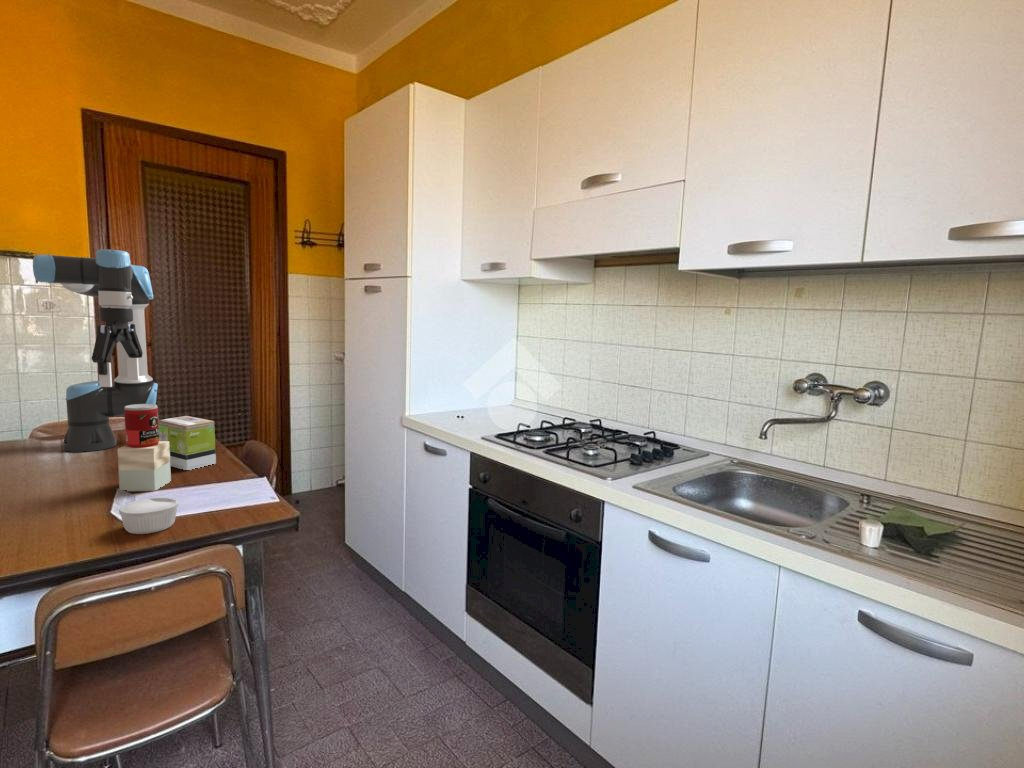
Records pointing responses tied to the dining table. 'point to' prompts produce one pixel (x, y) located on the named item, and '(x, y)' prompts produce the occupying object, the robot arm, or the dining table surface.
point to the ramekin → (149, 515)
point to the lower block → (144, 479)
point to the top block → (144, 457)
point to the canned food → (141, 425)
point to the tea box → (189, 441)
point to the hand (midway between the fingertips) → (120, 383)
